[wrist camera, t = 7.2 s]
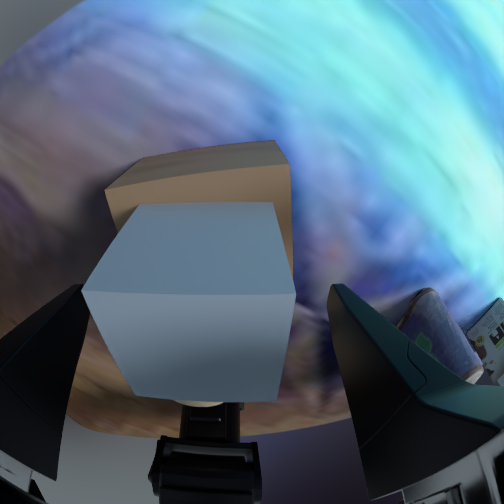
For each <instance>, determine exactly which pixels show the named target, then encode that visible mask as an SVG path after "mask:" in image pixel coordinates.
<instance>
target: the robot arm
mask: <svg viewBox="0 0 504 504" xmlns="http://www.w3.org/2000/svg"><path fill="white" fill-rule="evenodd" d="M83 287H84V285H83V284H74V285H73V286H71V287H70V288H68V289H67V290H65V291H64V292H63V293H61V294H60V295H58V296H57V297H55V298H54V299H53V300H51V301H50V302H48V303H47V304H46V305H44V306H43V307H42V308H40V309H39V310H38V311H36V312H35V313H33V314H32V315H31V316H29V317H28V318H27V319H26V320H24V321H23V322H22V323H20V324H19V325H18V326H16V327H15V328H14V329H13V330H12V331H10V332H9V333H7V334H6V335H5V336H4V337H2V338H1V339H0V504H48V503H46V502H45V500H44V498H43V496H42V494H41V492H40V490H39V488H38V486H37V484H36V482H35V480H33V479H31V476H32V472H33V471H35V472H38V473H39V474H41V475H43V476H45V477H48V478H50V479H52V480H54V481H56V479H57V470H58V461H59V452H60V445H61V438H62V431H63V425H64V420H65V415H66V410H67V405H68V400H69V396H70V391H71V387H72V383H73V379H74V375H75V371H76V367H77V364H78V360H79V356H80V353H81V350H82V346H83V343H84V339H85V335H86V330H87V325H88V320H89V316H90V310H89V308H88V305H87V303H86V301H85V298H84V296H83V293H82V291H81V290H82V288H83ZM327 311H328V317H329V323H330V329H331V336H332V342H333V346H334V350H335V354H336V358H337V361H338V365H339V369H340V372H341V376H342V380H343V384H344V388H345V392H346V396H347V400H348V404H349V408H350V412H351V416H352V420H353V424H354V428H355V433H356V438H357V442H358V446H359V452H360V457H361V461H362V466H363V471H364V476H365V481H366V487H367V492H368V497H369V501H371V500H374V499H378V498H381V497H384V496H387V495H390V494H393V493H396V492H398V491H401V490H402V493H403V498H404V500H401V501H399V502H398V504H504V386H486V385H475V384H472V383H469V382H467V381H465V380H463V379H462V378H460V377H459V376H458V375H456V374H455V373H454V372H452V371H451V370H449V369H448V368H447V367H445V366H444V365H442V364H441V363H440V362H438V361H437V360H436V359H434V358H433V357H432V356H430V355H429V354H428V353H426V352H425V351H424V350H423V349H421V348H420V347H419V346H418V345H417V344H415V343H414V342H413V341H412V340H411V339H409V338H408V337H407V336H406V335H405V334H404V333H402V332H401V331H400V330H399V329H398V328H396V327H395V326H394V325H393V324H392V323H390V322H389V321H388V320H387V319H386V318H384V317H383V316H382V315H381V314H380V313H378V312H377V311H376V310H375V309H374V308H372V307H371V306H370V305H369V304H368V303H366V302H365V301H364V300H363V299H361V298H360V297H359V296H358V295H356V294H355V293H354V292H353V291H352V290H350V289H349V288H348V287H347V286H345V285H344V284H332V285H331V287H330V291H329V296H328V300H327ZM241 410H244V402H223V403H221V404H219V405H215V406H210V407H195V406H188V405H184V404H183V406H182V415H181V424H180V434H179V438H172V437H167V436H164V435H161V438H160V440H158V441H157V448H156V454H155V457H154V461H153V464H152V466H151V469H150V471H149V474H148V480H149V481H150V482H151V483H152V487H153V492H154V495H155V496H158V497H159V504H255V503H260V502H261V498H262V478H261V470H260V461H259V453H258V445H257V442H251V443H240V411H241Z"/></svg>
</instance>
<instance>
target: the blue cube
mask: <svg viewBox="0 0 504 504" xmlns="http://www.w3.org/2000/svg"><path fill="white" fill-rule="evenodd" d="M81 291H82V293H83V296H84V298H85V301H86V303H87V305H88V308H89V310H90V312H91V314H92V316H93V319H94V321H95V323H96V325H97V327H98V329H99V331H100V333H101V335H102V337H103V339H104V341H105V343H106V345H107V347H108V349H109V351H110V353H111V355H112V356H113V358H114V360H115V362H116V364H117V365H118V367H119V369H120V371H121V372H122V374H123V376H124V378H125V379H126V381H127V383H128V384H129V386H130V388H131V389H132V391H133V392H134V394H135V395H136V396H143V397H152V398H161V399H172V400H185V401H203V402H267V401H276V400H277V396H278V391H279V386H280V381H281V376H282V371H283V366H284V361H285V356H286V350H287V345H288V339H289V334H290V328H291V322H292V316H293V310H294V304H295V298H296V292H295V287H294V283H293V279H292V275H291V271H290V267H289V263H288V259H287V255H286V251H285V247H284V243H283V239H282V236H281V232H280V228H279V224H278V220H277V217H276V213H275V209H274V205H273V202H199V203H164V204H140V205H139V206H138V207H137V208H136V210H135V211H134V212H133V214H132V215H131V216H130V218H129V219H128V221H127V222H126V223H125V225H124V226H123V227H122V229H121V230H120V232H119V233H118V234H117V236H116V237H115V239H114V240H113V242H112V243H111V245H110V246H109V248H108V249H107V250H106V252H105V253H104V255H103V256H102V258H101V260H100V261H99V263H98V264H97V266H96V267H95V269H94V270H93V272H92V274H91V275H90V277H89V278H88V280H87V282H86V283H85V285H84V287H83V288H82V290H81Z"/></svg>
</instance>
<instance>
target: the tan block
mask: <svg viewBox="0 0 504 504" xmlns="http://www.w3.org/2000/svg"><path fill="white" fill-rule="evenodd" d="M104 191H105V194H106V198H107V201H108V204H109V208H110V211H111V214H112V217H113V220H114V224H115V227H116V230H117V233H119V232H120V230H121V229H122V227H123V226H124V225H125V223H126V222H127V221H128V219H129V218H130V216H131V215H132V214H133V212H134V211H135V210H136V208H137V207H138V206H139V205H140V204H164V203H199V202H273V205H274V209H275V213H276V217H277V220H278V224H279V228H280V232H281V236H282V239H283V243H284V247H285V251H286V255H287V259H288V263H289V267H290V271H291V275H292V279H293V244H292V204H291V178H290V163H289V162H288V160H287V159H286V157H285V156H284V154H283V152H282V151H281V149H280V148H279V146H278V145H277V143H276V142H275V140H268V141H256V142H245V143H236V144H227V145H219V146H211V147H204V148H197V149H190V150H184V151H178V152H172V153H166V154H161V155H156V156H151V157H146V158H142V159H141V160H140V161H138V162H137V163H136V164H135V165H133V166H132V167H131V168H130V169H128V170H127V171H126V172H125V173H124V174H122V175H121V176H120V177H119V178H118V179H116V180H115V181H114V182H113V183H112V184H111V185H109V186H108V187H107V188H106V189H105V190H104Z"/></svg>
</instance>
